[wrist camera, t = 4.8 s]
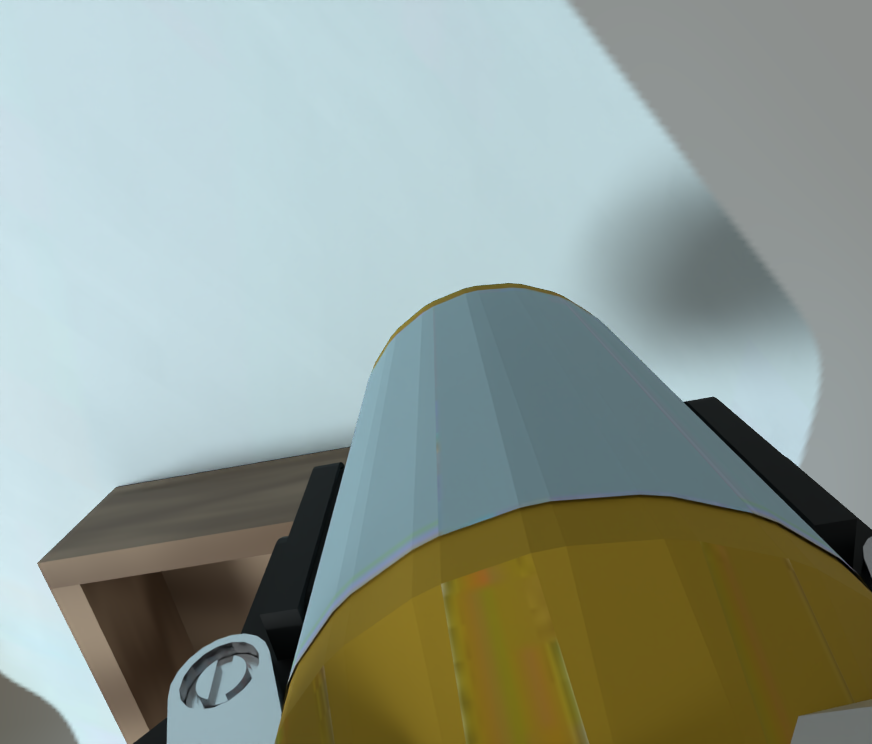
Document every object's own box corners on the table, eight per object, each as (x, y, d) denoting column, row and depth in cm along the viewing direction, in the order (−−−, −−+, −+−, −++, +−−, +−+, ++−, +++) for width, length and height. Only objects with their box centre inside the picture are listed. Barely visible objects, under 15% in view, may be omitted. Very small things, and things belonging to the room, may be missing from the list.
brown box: (115, 487, 27) (37, 563, 21) (432, 433, 26) (430, 498, 20) (204, 696, 31) (156, 802, 25) (480, 656, 30) (488, 758, 25)
